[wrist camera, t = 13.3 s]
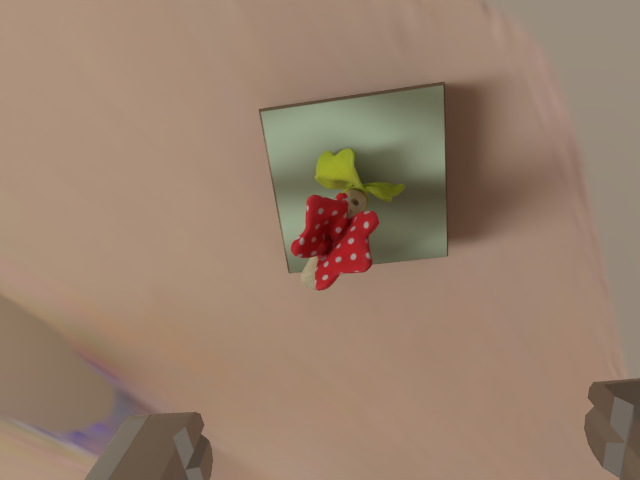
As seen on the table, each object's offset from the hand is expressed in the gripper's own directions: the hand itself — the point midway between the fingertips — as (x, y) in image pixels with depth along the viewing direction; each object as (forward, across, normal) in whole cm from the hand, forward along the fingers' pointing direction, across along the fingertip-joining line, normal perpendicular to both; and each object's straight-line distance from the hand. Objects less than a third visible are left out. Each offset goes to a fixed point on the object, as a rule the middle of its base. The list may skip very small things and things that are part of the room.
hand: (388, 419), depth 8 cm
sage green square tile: (+25, -1, 0) cm, 25 cm away
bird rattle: (+22, +1, +1) cm, 22 cm away
